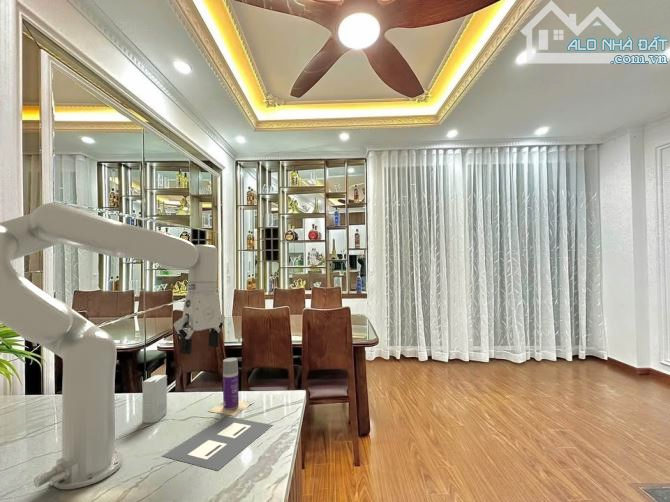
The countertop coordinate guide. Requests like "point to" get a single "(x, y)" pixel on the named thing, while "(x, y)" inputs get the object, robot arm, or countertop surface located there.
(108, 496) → the countertop surface
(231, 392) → the container
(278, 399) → the countertop surface
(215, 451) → the label mat
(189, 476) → the countertop surface
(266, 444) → the countertop surface
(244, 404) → the oak pad
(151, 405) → the skincare box
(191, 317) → the robot arm
